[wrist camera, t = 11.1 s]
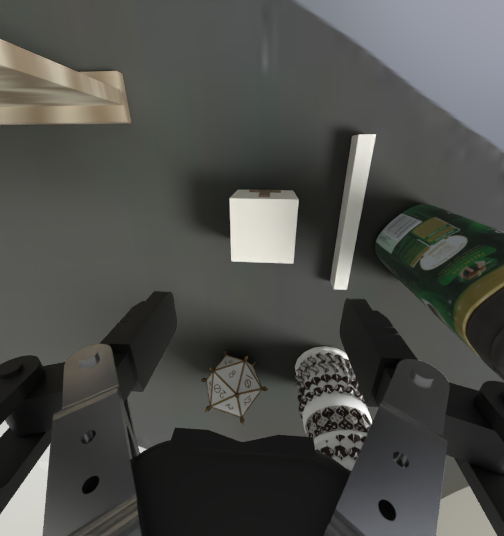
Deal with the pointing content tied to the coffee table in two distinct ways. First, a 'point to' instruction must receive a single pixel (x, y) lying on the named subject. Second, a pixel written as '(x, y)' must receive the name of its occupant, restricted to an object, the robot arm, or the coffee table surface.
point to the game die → (233, 386)
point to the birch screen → (57, 92)
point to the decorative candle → (332, 404)
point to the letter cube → (263, 225)
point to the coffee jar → (452, 273)
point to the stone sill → (351, 207)
